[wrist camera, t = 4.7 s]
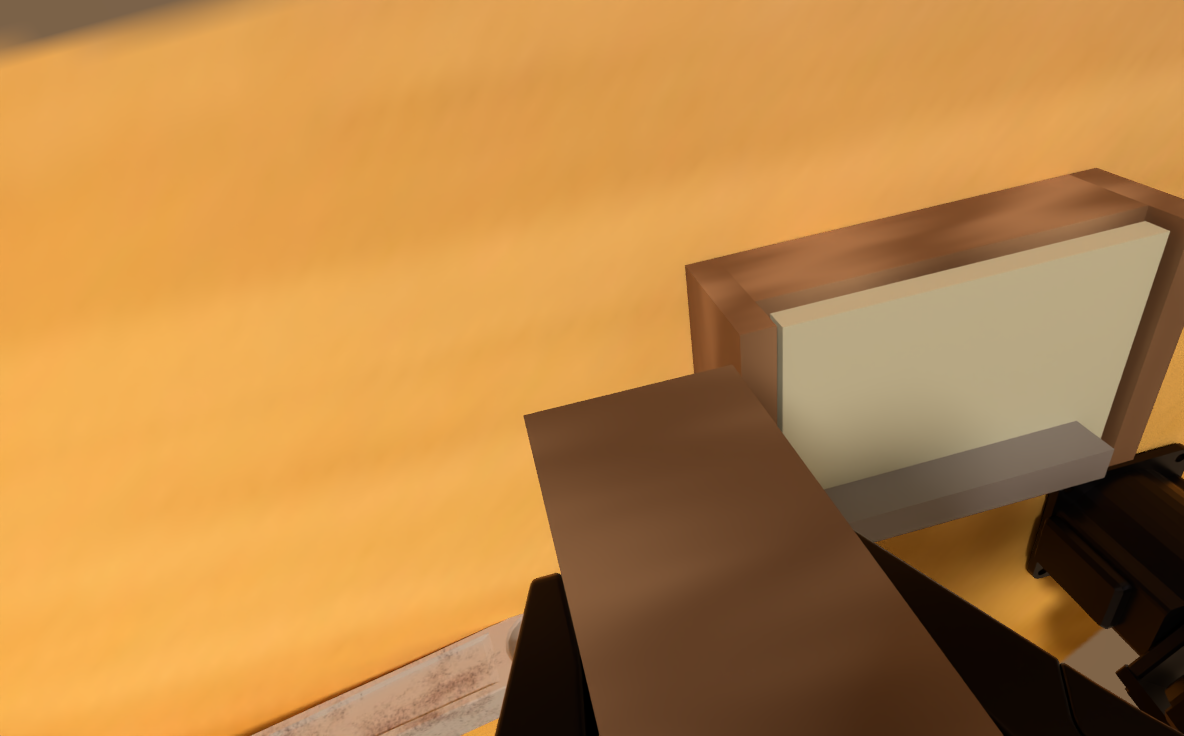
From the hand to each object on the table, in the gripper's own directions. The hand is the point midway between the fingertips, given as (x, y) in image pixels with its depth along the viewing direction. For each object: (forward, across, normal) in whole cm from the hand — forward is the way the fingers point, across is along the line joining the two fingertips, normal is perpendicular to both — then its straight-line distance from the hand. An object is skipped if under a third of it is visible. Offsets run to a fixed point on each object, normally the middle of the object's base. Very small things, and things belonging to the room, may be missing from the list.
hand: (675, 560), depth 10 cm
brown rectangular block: (+2, 0, 0) cm, 2 cm away
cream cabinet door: (+9, -11, +6) cm, 16 cm away
